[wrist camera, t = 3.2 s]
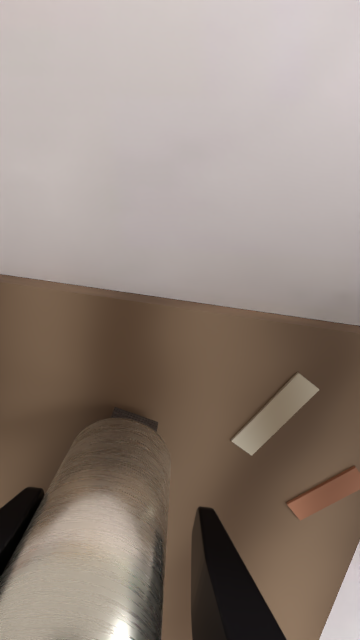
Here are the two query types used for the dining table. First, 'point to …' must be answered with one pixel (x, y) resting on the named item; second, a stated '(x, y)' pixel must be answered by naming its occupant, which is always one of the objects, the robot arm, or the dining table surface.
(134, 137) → the dining table surface
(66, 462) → the lever
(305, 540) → the board
